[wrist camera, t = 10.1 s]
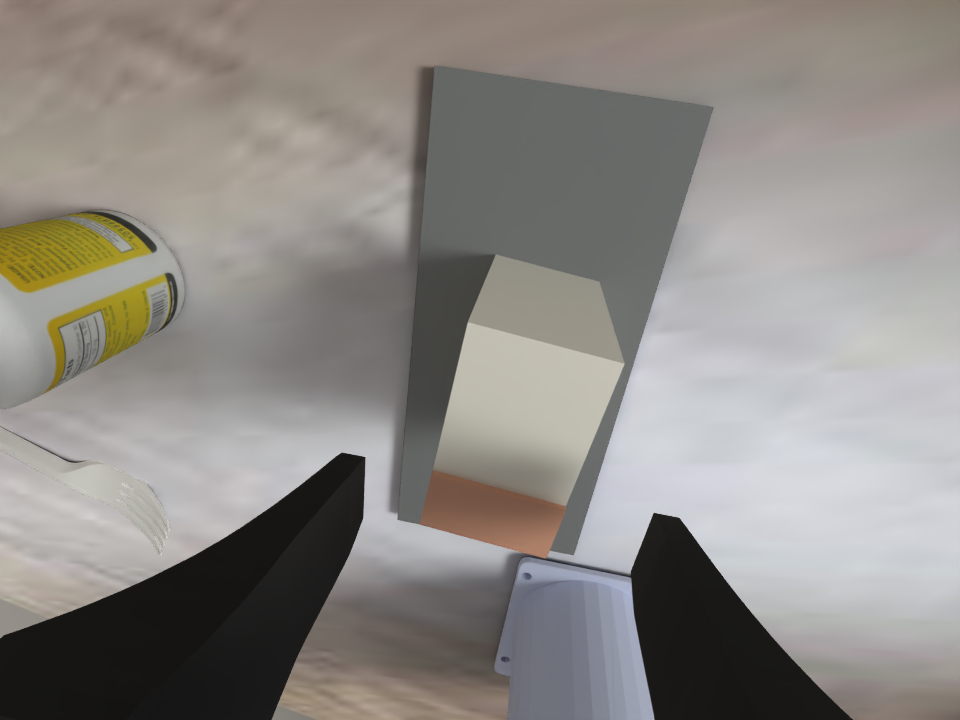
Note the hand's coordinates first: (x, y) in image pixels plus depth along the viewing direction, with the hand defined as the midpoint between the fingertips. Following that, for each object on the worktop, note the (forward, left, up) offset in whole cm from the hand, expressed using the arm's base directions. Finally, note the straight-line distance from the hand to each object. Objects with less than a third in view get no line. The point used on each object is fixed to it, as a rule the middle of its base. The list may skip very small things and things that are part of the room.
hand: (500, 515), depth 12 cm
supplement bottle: (+1, +17, -10) cm, 20 cm away
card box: (0, 0, -9) cm, 9 cm away
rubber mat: (0, 0, -9) cm, 9 cm away
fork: (-10, +26, -10) cm, 30 cm away
